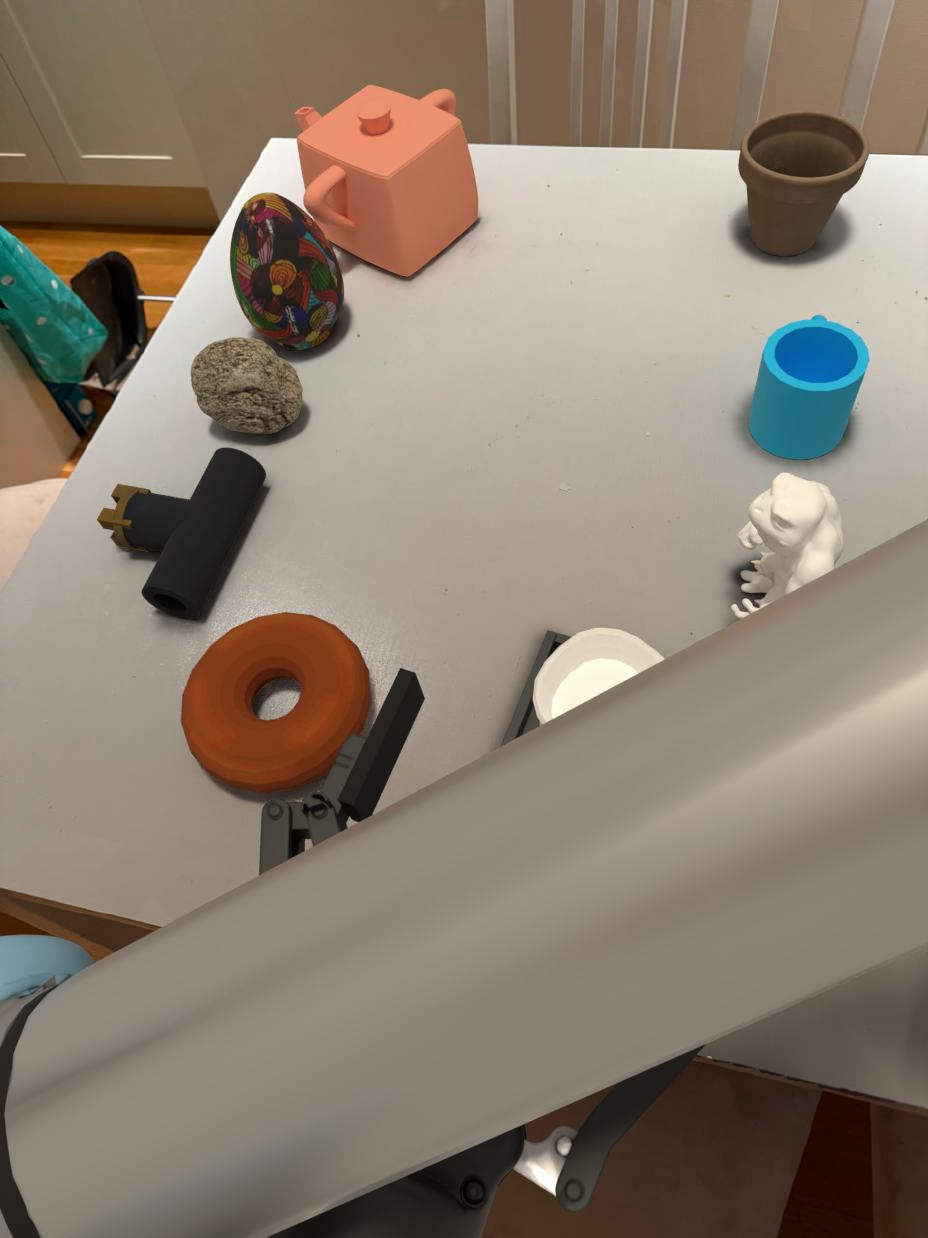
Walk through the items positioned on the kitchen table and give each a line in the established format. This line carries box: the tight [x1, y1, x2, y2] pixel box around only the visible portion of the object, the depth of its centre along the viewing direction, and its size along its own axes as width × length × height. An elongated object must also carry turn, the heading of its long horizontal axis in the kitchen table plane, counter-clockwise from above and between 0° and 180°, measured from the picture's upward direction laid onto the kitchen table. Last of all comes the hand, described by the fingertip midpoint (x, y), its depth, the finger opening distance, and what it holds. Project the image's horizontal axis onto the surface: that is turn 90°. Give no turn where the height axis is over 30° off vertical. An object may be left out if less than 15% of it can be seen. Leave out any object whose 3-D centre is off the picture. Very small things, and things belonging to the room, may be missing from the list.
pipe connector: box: [96, 446, 267, 620], centre depth 78 cm, size 12×5×15 cm
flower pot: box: [737, 109, 871, 257], centre depth 87 cm, size 12×11×10 cm
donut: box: [180, 611, 372, 794], centre depth 68 cm, size 15×15×5 cm
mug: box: [748, 314, 870, 461], centre depth 76 cm, size 12×8×8 cm
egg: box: [229, 192, 345, 351], centre depth 87 cm, size 11×11×15 cm
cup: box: [533, 626, 666, 726], centre depth 60 cm, size 10×10×10 cm
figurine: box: [730, 471, 845, 620], centre depth 63 cm, size 11×7×15 cm, turn 170°
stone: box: [190, 336, 304, 435], centre depth 83 cm, size 6×10×10 cm, turn 75°
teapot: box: [293, 84, 479, 277], centre depth 95 cm, size 20×22×14 cm
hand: (553, 726), depth 39 cm, fingers open, 13 cm apart
